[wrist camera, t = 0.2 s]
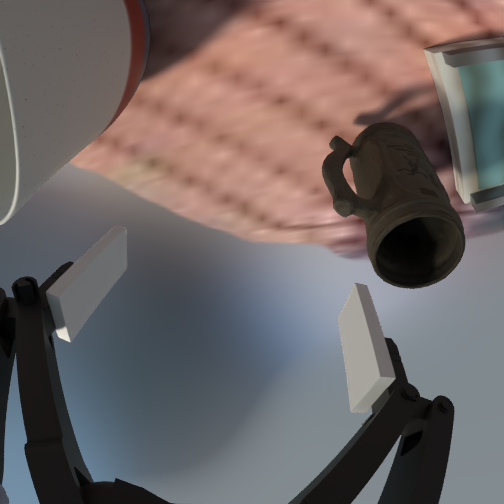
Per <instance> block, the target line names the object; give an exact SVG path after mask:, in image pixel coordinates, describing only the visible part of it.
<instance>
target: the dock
mask: <svg viewBox="0 0 504 504" xmlns="http://www.w3.org/2000/svg"><path fill="white" fill-rule="evenodd" d="M423 50H424V53H425V56H426V59H427V62H428V65H429V68H430V71H431V74H432V77H433V80H434V83H435V87H436V90H437V94H438V97H439V101H440V105H441V109H442V113H443V117H444V121H445V126H446V130H447V135H448V140H449V145H450V151H451V156H452V163H453V169H454V176H455V184H456V189H457V191H458V193H459V194H460V196H461V198H462V200H463V201H464V203H465V204H466V203H469V202H471V204H472V206H473V207H474V209H475V211H476V213H477V212H480V211H484V210H487V209H491V208H494V207H498V206H501V205H504V37H499V38H489V39H480V40H473V41H466V42H459V43H453V44H448V45H442V46H437V47H432V48H427V49H423Z"/></svg>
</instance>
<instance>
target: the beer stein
mask: <svg viewBox="0 0 504 504" xmlns="http://www.w3.org/2000/svg"><path fill="white" fill-rule="evenodd" d="M329 145H330V148H332V149H333V150H334V151H333V152H331V153H330V154H329V155H327V157H326V158H325V160H324V161H323V166H322V174H323V178H324V181H325V184H326V185H327V187H328V189H329V191H330V193H331V195H332V197H333V208H334V209H335V211H336V212H337V213H338V214H339V215H341V216H343V217H347V216H349V215H352V214H353V215H356V216H358V217H361V218H364V221H365V225H366V233H367V252H368V256H369V259H370V261H371V263H372V266H373V268H374V271H375V272H376V273H377V275H378V276H379V277H380V278H381V279H383V281H385V282H387V283H389V284H391V285H393V286H397V287H402V288H410V289H414V288H422V287H426V286H430V285H432V284H435V283H437V282H439V281H441V280H442V279H444V278H446V277H447V276H448V275H449V274H450V273H451V272H452V271H453V270H454V269H455V268H456V266H457V265H458V263H459V262H460V260H461V258H462V256H463V253H464V250H465V235H464V228H463V225H462V221H461V219H460V217H459V215H458V213H457V212H456V211H455V209H454V208H453V207H452V206H451V204H450V199H449V197H448V194H447V192H446V190H445V188H444V186H443V185H442V183H441V181H440V180H439V178H438V176H437V174H436V171H435V169H434V167H433V165H432V164H431V163H430V161H429V159H428V158H427V156H426V155H425V153H424V151H423V150H422V148H421V147H420V145H419V142H418V140H417V139H416V138H415V136H414V135H413V134H412V133H411V132H410V131H409V130H407V129H406V128H404V127H402V126H400V125H397V124H393V123H379V124H375V125H372V126H370V127H368V128H367V129H365V130H364V131H362V132H361V133H360V134H359V135H358V136H357V138H356V139H355V141H354V143H353V145H350V144H348V143H347V142H346V141H344V140H343V139H342V138H340V137H339V136H335V137H334V138H332V140H331V142H330V143H329ZM347 158H350V165H351V169H352V172H353V178H354V183H355V186H356V191H357V195H356V194H355V192H354V191H353V190H352V189H351V187H350V186H349V184H348V183H347V181H346V179H345V177H344V174H343V170H342V169H343V165H344V163H345V160H346V159H347Z"/></svg>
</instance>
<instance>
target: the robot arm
mask: <svg viewBox="0 0 504 504" xmlns="http://www.w3.org/2000/svg"><path fill="white" fill-rule="evenodd" d="M126 269H127V228H124V227H120V226H114V227H113V228H112V229H111V230H110V231H109V232H107V233H106V234H105V235H104V236H103V237H102V238H101V239H100V240H98V241H97V242H96V243H95V244H94V245H93V246H92V247H91V248H90V249H89V250H88V251H87V252H85V253H84V254H83V255H82V256H81V257H80V258H79V259H78V260H77V261H76V262H75V263H73V262H68V263H66V264H64V265H62V266H61V267H59V268H58V269H57V270H56V272H54V273H53V274H52V275H51V277H49V278H48V279H47V280H46V281H45V282H44V283H43V284H42V285H41V286H40V287H39V288H38V284H37V281H36V279H34V278H33V277H22V278H19V279H18V280H16V281H15V282H14V283H13V285H12V291H13V294H14V297H15V298H11V297H6V294H5V291H4V290H3V289H2V288H0V504H9V498H8V497H7V495H6V492H5V490H4V488H3V486H2V479H3V471H4V470H3V469H4V438H5V437H4V436H5V421H6V411H7V402H8V394H9V387H10V381H11V374H12V369H13V363H14V358H15V353H16V359H17V372H18V373H17V374H18V384H19V393H20V401H21V407H22V414H23V420H24V426H25V431H26V435H27V443H26V444H25V447H24V449H25V455H26V459H27V463H28V467H29V471H30V474H31V478H32V481H33V484H34V488H35V491H36V494H37V497H38V500H39V503H40V504H173V503H169V502H167V501H165V500H163V499H162V498H160V497H158V496H156V495H154V494H152V493H151V492H149V491H147V490H146V489H144V488H142V487H139V486H136V485H133V484H130V483H128V482H125V481H122V480H120V479H117V478H116V479H115V482H106V481H102V482H93V479H92V477H91V475H90V473H89V471H88V469H87V467H86V465H85V463H84V461H83V458H82V456H81V453H80V450H79V447H78V444H77V441H76V438H75V434H74V431H73V428H72V425H71V421H70V418H69V414H68V410H67V407H66V403H65V398H64V394H63V390H62V385H61V381H60V376H59V371H58V366H57V360H56V354H55V348H54V341H53V336H52V333H53V331H54V330H55V329H56V331H57V334H58V337H59V338H62V339H64V340H66V341H68V342H72V340H73V339H74V337H75V336H76V334H77V333H78V332H79V330H80V329H81V327H82V326H83V324H84V323H85V322H86V321H87V319H88V318H89V317H90V315H91V314H92V312H93V311H94V310H95V309H96V307H97V306H98V305H99V303H100V302H101V301H102V299H103V298H104V297H105V295H106V294H107V293H108V291H109V290H110V289H111V288H112V287H113V285H114V284H115V283H116V281H117V280H118V279H119V278H120V276H121V275H122V274H123V273H124V271H125V270H126ZM338 325H339V331H340V337H341V343H342V350H343V356H344V363H345V370H346V377H347V385H348V393H349V401H350V409H351V412H356V413H366V412H367V411H368V410H369V408H370V407H371V406H372V412H373V414H372V415H371V416H370V417H369V418H368V419H367V420H366V421H365V422H364V423H363V424H362V427H361V428H360V429H359V430H358V432H357V433H356V434H355V435H354V436H353V438H352V439H351V440H350V441H349V442H348V443H347V445H346V446H345V447H344V448H343V449H342V450H341V451H340V453H339V454H338V455H337V456H336V457H335V458H334V459H333V460H332V461H331V462H330V463H329V465H328V466H327V467H326V468H325V469H324V470H323V471H322V472H321V473H320V474H319V475H318V476H317V477H316V478H315V479H314V480H313V481H312V482H311V483H310V484H309V485H308V486H307V487H306V488H305V489H304V490H303V491H301V492H300V493H299V494H298V495H297V496H296V497H295V498H294V499H293V500H292V501H290V502H289V503H288V504H351V503H352V501H353V500H354V499H355V498H356V497H357V495H358V494H359V493H360V492H361V490H362V489H363V488H364V486H365V485H366V484H367V483H368V481H369V480H370V479H371V477H372V476H373V474H374V473H375V472H376V470H377V469H378V468H379V466H380V465H381V463H382V462H383V461H384V459H385V458H386V456H387V455H388V453H389V452H390V450H391V449H392V447H393V446H394V444H395V442H396V441H397V439H398V438H399V436H400V435H402V436H401V439H400V442H399V446H398V449H397V452H396V455H395V458H394V461H393V464H392V467H391V470H390V473H389V476H388V478H387V481H386V484H385V486H384V489H383V492H382V494H381V496H380V499H379V501H378V504H438V503H439V499H440V495H441V491H442V487H443V483H444V478H445V473H446V468H447V463H448V457H449V451H450V444H451V438H452V430H453V421H454V406H453V404H452V402H451V401H450V400H449V399H448V398H447V397H445V396H437V397H436V398H435V399H434V400H433V401H431V400H428V399H425V398H423V397H420V394H419V392H418V390H417V389H416V388H415V387H414V386H413V385H411V384H409V383H408V380H407V377H406V374H405V370H404V367H403V364H402V362H401V357H400V356H399V351H398V348H397V346H396V344H395V343H394V342H393V340H392V339H391V338H385V337H384V335H383V332H382V329H381V326H380V322H379V319H378V316H377V313H376V310H375V307H374V304H373V301H372V299H371V295H370V293H369V290H368V287H367V285H363V284H358V283H355V284H354V286H353V288H352V290H351V292H350V295H349V297H348V299H347V301H346V303H345V305H344V307H343V309H342V311H341V313H340V315H339V317H338Z"/></svg>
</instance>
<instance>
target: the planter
mask: <svg viewBox="0 0 504 504" xmlns="http://www.w3.org/2000/svg"><path fill="white" fill-rule="evenodd" d="M150 39H151V34H150V22H149V16H148V12H147V9H146V6H145V3H144V1H143V0H0V225H2V224H4V223H5V222H6V221H8V220H9V219H10V218H11V217H12V216H13V215H14V214H15V213H16V212H17V211H18V210H19V209H20V208H21V207H22V206H23V205H24V204H25V203H26V202H27V201H28V200H29V199H30V198H31V197H32V196H33V195H34V193H35V192H36V191H37V190H38V189H39V188H40V187H41V186H42V185H43V184H44V183H45V182H46V181H47V180H49V178H51V177H52V176H53V175H54V174H55V173H56V172H57V171H58V170H60V169H61V168H62V167H63V166H64V165H65V164H67V163H68V162H69V161H70V160H71V159H72V158H74V157H75V156H76V155H77V154H78V153H79V152H80V151H82V150H83V149H84V148H85V147H86V146H88V145H89V144H90V143H91V142H93V141H94V140H95V139H96V138H97V137H99V136H100V135H101V134H102V133H103V132H104V131H105V130H106V129H107V128H108V127H110V126H111V125H112V123H113V122H114V121H115V120H116V119H117V118H118V116H119V115H120V114H121V113H122V111H123V110H124V109H125V108H126V106H127V105H128V103H129V102H130V100H131V98H132V97H133V95H134V93H135V92H136V90H137V88H138V86H139V84H140V81H141V79H142V77H143V74H144V71H145V68H146V65H147V61H148V56H149V51H150Z"/></svg>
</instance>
